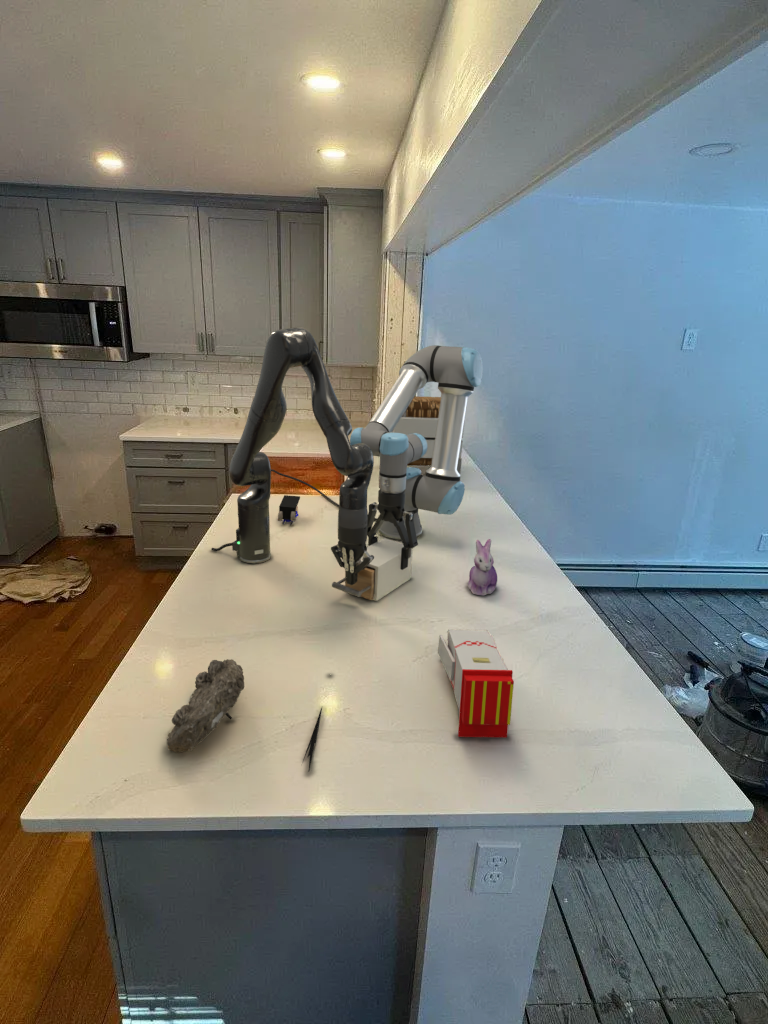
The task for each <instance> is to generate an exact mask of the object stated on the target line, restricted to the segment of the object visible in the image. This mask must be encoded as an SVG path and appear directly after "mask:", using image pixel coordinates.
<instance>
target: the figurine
mask: <svg viewBox="0 0 768 1024" xmlns="http://www.w3.org/2000/svg"><path fill="white" fill-rule="evenodd" d="M491 547H492V539H491V538H488V539H487V540H486V541H485V543H484V545H483V544H482V542H481V541H480V540H479V539H476V540H475V549H476V551H475V552H476V553H475V556H474V558H473V563H474V566H472V567H471V568H470V570H469V575H468V579H469V580H468V583H467V587H468V589H469V591H471V593H472V594H473V595H476V596H486V595H490V594H493V592H494V591H496V588H497V583H498V574H497V570H496V568H495V567H494V563H495V562H494V561H495V560H494V556H493V555H492V553H491Z"/></svg>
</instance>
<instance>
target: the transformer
mask: <svg viewBox="0 0 768 1024" xmlns="http://www.w3.org/2000/svg"><path fill="white" fill-rule="evenodd" d="M440 401H441V396H416V395H415V396H414V398H413V399H412V401H411V403H410V404H409V406H408V407H407V409H406V411H405V412H404V414H403V415H402V417H401V419H400V420H399V422H398V423H397V425H396V427H395V428H394V430H393V431H392V433H402V434H405V435H408V434H411V433H412V434H413V433H417V434H420V435H422V436H423V437H424V438H425V440H426V442H427V451H426V453H425V455H424V456H422V457H421V458H420V459H419V460H416V461H413V462H411V463H409V464H407V467H410V466H411V467H417V466H418V467H431V464H432V457H433V450H434V443H435V436H436V429H437V422H438V415H439V408H440ZM464 422H465V419H464ZM464 429H465V425H464V426H463V432H462V439H463V438H464V431H465V430H464ZM462 439H461V445H460V452H459V458H458V465H457V471H458V473H459V474H460V475H461V472H462V461H463V460H462V453H463V442H464V441H463V440H462Z"/></svg>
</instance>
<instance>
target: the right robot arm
mask: <svg viewBox="0 0 768 1024" xmlns="http://www.w3.org/2000/svg"><path fill="white" fill-rule="evenodd" d="M483 375H484V365H483V359H482V356H481V353H480V352H479V350H477V349H476V348H471V347H466V346H449V345H435V344H434V345H429V346H425V347H423V348H421V349H419V350H418V351H416V352H414V353H413V354H412V355H410V357H408V358H407V359H406V361H405V362H403V364H402V365H401V367H400V369H399V371H398V377H397V379H396V380H395V382H394V383H393V385H392V386H391V388H390V389H389V390H388V392H387V394H386V396H385V397H384V399H383V400H382V402H381V403H380V405H379V407H378V408H377V409H376V410H375V413H374V414H373V416H372V417H371V419H370V420H369V421H368V423H367V424H366V426H365V427H356V428H354V429H352V432H351V433H350V436H349V437H350V438H349V442H350V444H351V445H354V444H357V443H363V444H366V445H367V446H369V448H370V449H371V451H372V453H373V457H379V471H378V493H377V502H376V501H374V502H372V503H369V504H368V511H367V512H368V523H367V547H368V546H370V545H372V544H374V543H376V542H378V541H379V536H377V534H378V533H379V534H380V535H381V536H382V537H384V538H386V539H389V540H394V541H401V543H402V544H403V545H404V547H403V548H402V551H401V570H403V569H405V568H407V567H408V559H409V558H410V557H411V548H413V549H414V548H415V547H417V546H419V542H418V538H420V537H421V536H422V535H423V525H422V524H421V518H420V515H419V510H421V511H427V512H432V513H437V514H439V515H446V516H447V515H448V516H450V515H453V514H455V513H456V512H457V510H458V509H459V508H460V506H461V504H462V502H463V499H464V495H465V489H466V488H465V483H464V482H463V481H462V480H461V474H459V473H458V471H457V465H458V458H459V452H460V445H461V440H462V439H463V438H462V432H463V426H464V427H465V421H464V420H465V418H466V412H467V405H468V400H469V399H468V398H469V397H470V396H472V394H474V392H475V391H474V390H475V388H477V387H479V386H480V385H481V383H482V380H483ZM428 383H438V384H437V390H438V391H439V392H440V397H441V401H440V408H439V415H438V422H437V429H436V436H435V443H434V450H433V457H432V464H431V465H430V466H429V468H427V469H426V470H425V474H422V470H421V468H419V467H415V466H411V467H410V466H407V464H409V463H411V462H413V461H416V460H419V459H420V458H421V457H422V456H424V455H425V453H426V451H427V442H426V440H425V438H424V437H423V436H422V435H420V434H417V433H413V434H412V433H411V434H408V435H405V434H402V433H392V431H393V430H394V428H395V427H396V425H397V423H398V422H399V420H400V419H401V417H402V415H403V414H404V412H405V411H406V409H407V407H408V406H409V404H410V403H411V401H412V399H413V398H414V396H415V397H416V395H417V394H418V392H419V390H421V389H424V387H425V386H426V384H428ZM463 433H464V432H463ZM271 472H273V473H275V474H277V475H279V476H282V477H284V478H288V479H291V480H293V481H296V482H299V483H301V484H303V485H305V486H308V487H309V488H311V489H313V490H314V491H315V492H317V493H318V494H320V495H321V496H322V497H324V498H325V499H326V500H327V501H329V502H330V503H331V504H333V505H335V506H336V507H338V508H339V503H338V502H336V501H334V500H332V498H330V497H328V496H327V495H326V494H324V492H322V491H320V490H319V489H318V488H317V487H315V486H313V485H311V484H309V483H308V482H306V481H304V480H301V479H299V478H296V477H294V476H290V475H289V474H284V473H281V472H278V471H277V470H276V469H273V468H271ZM377 512H379V515H378V517H377V518H376V515H377Z"/></svg>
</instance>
